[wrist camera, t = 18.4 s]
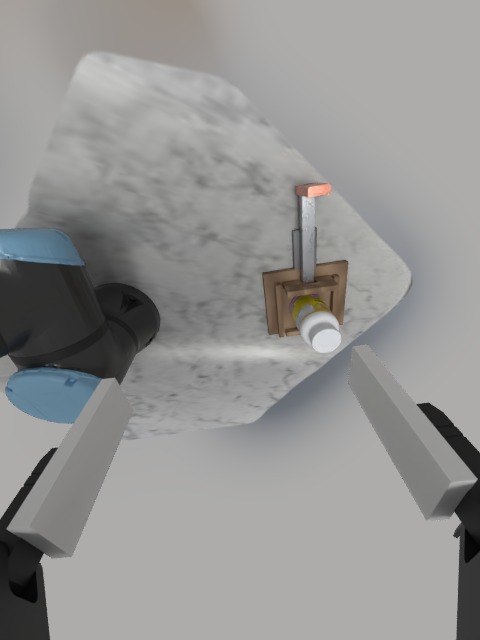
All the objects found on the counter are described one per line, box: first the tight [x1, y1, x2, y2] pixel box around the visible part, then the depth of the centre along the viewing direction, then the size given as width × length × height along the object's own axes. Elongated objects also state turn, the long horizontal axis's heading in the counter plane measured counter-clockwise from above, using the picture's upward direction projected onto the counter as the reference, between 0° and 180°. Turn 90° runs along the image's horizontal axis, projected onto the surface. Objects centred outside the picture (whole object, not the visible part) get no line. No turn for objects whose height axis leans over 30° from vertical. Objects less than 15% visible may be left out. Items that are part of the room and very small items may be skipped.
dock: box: [263, 227, 348, 337], centre depth 45 cm, size 16×21×6 cm
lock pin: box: [296, 183, 331, 283], centre depth 39 cm, size 3×16×7 cm, turn 8°
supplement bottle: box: [290, 294, 341, 353], centre depth 44 cm, size 7×7×13 cm
